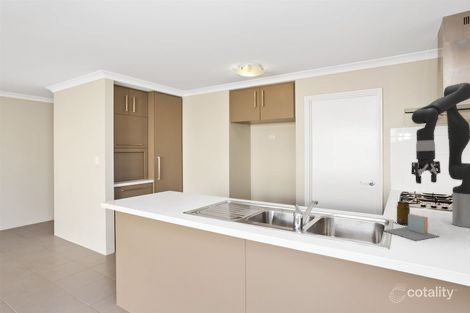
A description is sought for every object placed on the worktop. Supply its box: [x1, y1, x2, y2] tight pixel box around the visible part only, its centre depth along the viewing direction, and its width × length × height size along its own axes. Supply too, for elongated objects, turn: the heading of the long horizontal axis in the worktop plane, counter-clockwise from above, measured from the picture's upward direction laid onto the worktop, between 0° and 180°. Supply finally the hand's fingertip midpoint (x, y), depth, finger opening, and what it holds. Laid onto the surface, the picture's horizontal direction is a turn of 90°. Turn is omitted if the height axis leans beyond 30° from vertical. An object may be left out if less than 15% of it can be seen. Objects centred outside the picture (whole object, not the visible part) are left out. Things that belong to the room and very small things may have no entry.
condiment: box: [393, 200, 411, 227], centre depth 145 cm, size 7×8×12 cm
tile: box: [407, 213, 429, 235], centre depth 129 cm, size 2×8×8 cm, turn 21°
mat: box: [382, 226, 440, 242], centre depth 127 cm, size 16×16×1 cm
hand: (426, 182), depth 130 cm, fingers open, 8 cm apart
